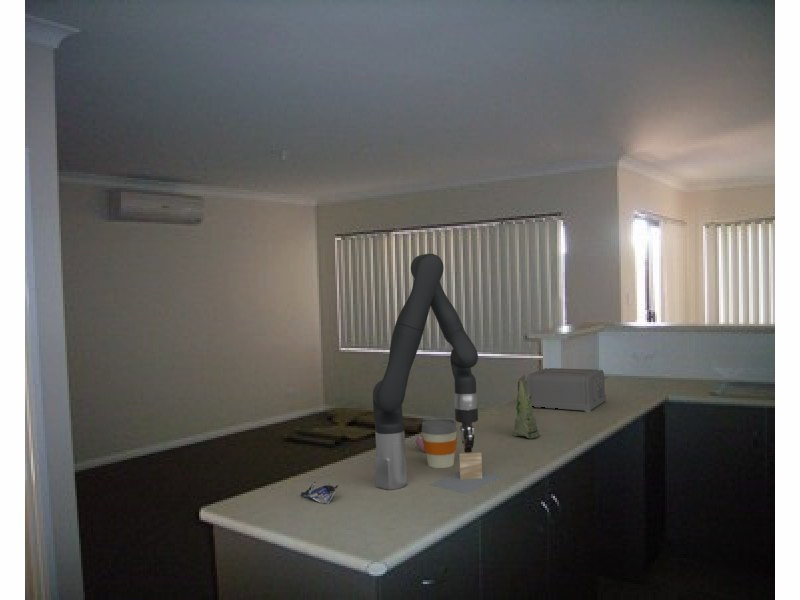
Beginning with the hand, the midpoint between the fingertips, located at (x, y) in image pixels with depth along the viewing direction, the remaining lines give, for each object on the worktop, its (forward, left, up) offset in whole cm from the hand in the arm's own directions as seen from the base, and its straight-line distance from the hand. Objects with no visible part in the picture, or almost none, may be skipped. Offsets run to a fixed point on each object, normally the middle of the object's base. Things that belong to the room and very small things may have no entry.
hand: (468, 459), depth 198 cm
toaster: (+127, +28, -6) cm, 130 cm away
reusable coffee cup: (+5, +15, -6) cm, 17 cm away
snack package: (-43, +24, -6) cm, 50 cm away
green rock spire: (+57, +12, -6) cm, 58 cm away
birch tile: (-2, -3, -5) cm, 6 cm away
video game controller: (+19, +33, -6) cm, 38 cm away
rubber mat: (-5, -3, -6) cm, 8 cm away
